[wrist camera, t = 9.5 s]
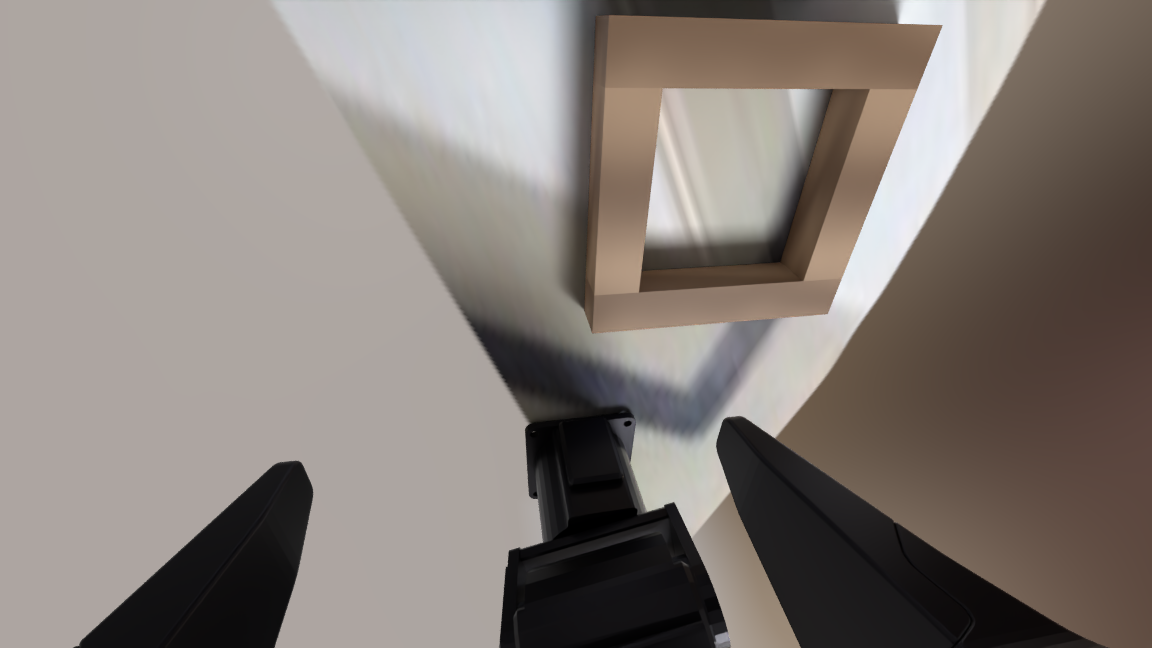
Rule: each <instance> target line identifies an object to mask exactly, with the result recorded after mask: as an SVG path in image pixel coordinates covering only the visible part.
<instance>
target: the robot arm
mask: <svg viewBox="0 0 1152 648" xmlns="http://www.w3.org/2000/svg"><path fill="white" fill-rule="evenodd" d="M625 421H627V422H625ZM635 425H636V421H635V418H634V415H633V414H631V413H620V414H611V415H602V416H593V417H584V418H575V419H566V420H557V421H548V422H539V423H532V424H529V425H528V426H527V427H526V429H525V436H526V453H527V471H528V486H529V496H530V497H531V498H533V499H538V503H539V511H540V520H541V529H542V538H543V543H540V544H537V545H533V546H530V547H526V548H523V549H520V548H516V549H513V550H509V556H508V567H506V573H505V584H504V597H503V609H502V621H501V634H500V645H499V648H730V647H731V645H730V639H729V634H728V630H727V627H726V623H725V620H724V617H723V614H722V611H721V607H720V604H719V602H718V599H717V596H716V593H715V591H714V588H713V585H712V583H711V580H710V578H709V575H708V573H707V571H706V568H705V566H704V564H703V562H702V560H701V557H700V555H699V553H698V551H697V549H696V547H695V545H694V543H693V541H692V539H691V536H690V534H689V532H688V530H687V528H686V526H685V524H684V522H683V520H682V517H681V515H680V513H679V511H678V509H677V507H676V505H675V503H674V502H673V503H669V504H666V505H664V507H663V508H659V509H656V510H652V511H649V512H647V511H646V508H645V505H644V503H643V500H642V497H641V494H640V491H639V488H638V485H637V482H636V479H635V476H634V473H633V470H632V467H631V464H630V461H631V454H632V447H633V439H634V432H635ZM533 431H536V432H533ZM716 448H717V453H718V456H719V459H720V462H721V464H722V467H723V470H724V473H725V476H726V479H727V482H728V485H729V488H730V490H731V493H732V496H733V499H734V502H735V505H736V508H737V510H738V513H739V515H740V517H741V520H742V522H743V524H744V526H745V529H746V531H747V533H748V535H749V537H750V539H751V541H752V544H753V546H754V548H755V550H756V552H757V554H758V557H759V559H760V561H761V563H762V565H763V567H764V569H765V572H766V574H767V576H768V578H769V580H770V582H771V584H772V587H773V589H774V591H775V593H776V595H777V597H778V599H779V601H780V604H781V606H782V608H783V610H784V612H785V614H786V616H787V619H788V621H789V623H790V625H791V627H792V629H793V632H794V634H795V636H796V638H797V640H798V642H799V644H800V647H801V648H1108V647H1105V646H1102V645H1100V644H1097V643H1095V642H1093V641H1091V640H1088V639H1086V638H1084V637H1082V636H1080V635H1078V634H1076V633H1074V632H1072V631H1070V630H1068V629H1066V628H1065V627H1063V626H1061V625H1059V624H1057V623H1056V622H1054V621H1052V620H1051V619H1049V618H1047V617H1046V616H1044V615H1042V614H1040V613H1039V612H1038V611H1036V610H1034V609H1033V608H1031V607H1029V606H1028V605H1026V604H1024V603H1023V602H1021V601H1019V600H1018V599H1016V598H1014V597H1013V596H1011V595H1009V594H1008V593H1006V592H1005V591H1003V590H1001V589H1000V588H998V587H996V586H994V585H993V584H991V583H990V582H988V581H986V580H985V579H983V578H981V577H980V576H978V575H977V574H975V573H973V572H972V571H970V570H968V569H967V568H965V567H964V566H962V565H960V564H959V563H957V562H956V561H954V560H952V559H951V558H949V557H948V556H946V555H945V554H943V553H941V552H940V551H938V550H937V549H936V548H934V547H933V546H931V545H930V544H928V543H927V542H925V541H924V540H922V539H920V538H919V537H918V536H916V535H914V534H913V533H911V532H910V531H909V530H907V529H906V528H904V527H903V526H901V525H900V524H898V523H896V522H895V523H894V521H893V520H892V519H891V518H890V517H888V516H887V515H885V514H884V513H882V512H881V511H879V510H878V509H876V508H875V507H874V506H872V505H871V504H869V503H868V502H866V501H865V500H863V499H862V498H861V497H859V496H858V495H856V494H855V493H853V492H852V491H850V490H849V489H848V488H846V487H845V486H843V485H842V484H840V483H839V482H837V481H836V480H834V479H833V478H832V477H830V476H829V475H827V474H826V473H824V472H823V471H821V470H820V469H818V468H817V467H816V466H814V465H813V464H811V463H810V462H808V461H807V460H805V459H804V458H802V457H801V456H799V455H798V454H797V453H795V452H794V451H792V450H791V449H789V448H788V447H786V446H785V445H784V444H782V443H781V442H779V441H778V440H776V439H775V438H773V437H772V436H771V435H769V434H768V433H766V432H765V431H763V430H762V429H760V428H759V427H757V426H756V425H755V424H753V423H752V422H750V421H749V420H747V419H746V418H744V417H741V416H736V417H727V418H725V419H724V420H723V422H722V425H721V429H720V432H719V435H718V439H717V443H716ZM312 499H313V488H312V485H311V482H310V480H309V478H308V476H307V473H306V471H305V469H304V466H303V465H302V463H301V462H299V461H289V462H280V463H277V464H275V465H274V466H272V467H271V468H270V469H269V470H268V471H267V472H266V473H264V474H263V475H262V476H261V477H260V478H259V479H258V480H257V481H256V482H255V483H253V484H252V485H251V486H250V487H249V488H248V489H247V490H246V491H245V492H244V493H243V494H241V495H240V496H239V497H238V498H237V499H236V500H235V501H234V502H233V503H231V504H230V505H229V506H228V507H227V508H226V509H225V510H224V511H223V512H222V513H221V514H219V515H218V516H217V517H216V518H215V519H214V520H213V521H212V522H211V523H210V524H208V525H207V526H206V527H205V528H204V529H203V530H202V531H201V532H200V533H199V534H197V535H196V536H195V537H194V538H193V539H192V540H191V541H190V542H189V543H188V544H187V545H186V546H184V547H183V548H182V549H181V550H180V551H179V552H178V553H177V554H176V555H175V556H173V557H172V558H171V559H170V560H169V561H168V562H167V563H166V564H165V565H164V566H162V567H161V568H160V569H159V570H158V571H157V572H156V573H155V574H154V575H153V576H151V577H150V578H149V579H148V580H147V581H146V582H145V583H144V584H143V585H142V586H141V587H139V588H138V589H137V590H136V591H135V592H134V593H133V594H132V595H131V596H130V597H128V598H127V599H126V600H125V601H124V602H123V603H122V604H121V605H120V606H119V607H118V608H116V609H115V610H114V611H113V612H112V613H111V614H110V615H109V616H108V617H106V618H105V619H104V620H103V621H102V622H101V623H100V624H99V625H98V626H97V627H96V628H95V629H93V630H92V631H91V632H90V633H89V634H88V635H87V636H86V637H85V638H84V639H82V640H81V642H80V644H79V646H76V647H74V648H274V647H275V644H276V641H277V638H278V635H279V632H280V628H281V625H282V622H283V619H284V616H285V613H286V610H287V606H288V603H289V600H290V597H291V594H292V591H293V587H294V584H295V581H296V577H297V573H298V569H299V564H300V560H301V554H302V550H303V545H304V540H305V535H306V530H307V525H308V520H309V514H310V509H311V505H312Z"/></svg>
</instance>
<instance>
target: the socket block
mask: <svg viewBox="0 0 1152 648" xmlns="http://www.w3.org/2000/svg"><path fill="white" fill-rule="evenodd" d="M942 26H943V25H917V24H885V23H852V22H820V21H788V20H755V19H723V18H691V17H658V16H626V15H600V16H596V20H595V46H594V72H593V98H592V123H591V149H590V175H589V201H588V227H587V253H586V278H585V304H584V311H585V314H586V317H587V319H588V322H589V325H590V328H591V331H592V333H603V332H615V331H627V330H639V329H651V328H664V327H676V326H688V325H700V324H712V323H725V322H737V321H749V320H761V319H773V318H786V317H798V316H810V315H822V314H828V312H829V309H830V307H831V304H832V302H833V299H834V297H835V294H836V292H837V289H838V287H839V284H840V281H841V279H842V276H843V274H844V271H845V269H846V266H847V264H848V261H849V259H850V256H851V254H852V251H853V249H854V246H855V244H856V241H857V239H858V236H859V234H860V231H861V229H862V226H863V224H864V221H865V219H866V216H867V214H868V211H869V209H870V206H871V204H872V201H873V199H874V196H875V194H876V191H877V189H878V186H879V184H880V181H881V179H882V176H883V174H884V171H885V169H886V166H887V164H888V161H889V159H890V156H891V154H892V151H893V149H894V146H895V144H896V141H897V139H898V136H899V134H900V131H901V128H902V126H903V123H904V121H905V118H906V116H907V113H908V111H909V108H910V106H911V103H912V101H913V98H914V96H915V93H916V91H917V88H918V86H919V83H920V81H921V78H922V76H923V73H924V71H925V68H926V66H927V63H928V61H929V58H930V56H931V53H932V51H933V48H934V46H935V43H936V41H937V38H938V36H939V33H940V31H941V28H942ZM662 88H733V89H833V91H832V95H831V98H830V101H829V104H828V108H827V111H826V114H825V117H824V121H823V124H822V127H821V131H820V134H819V137H818V140H817V144H816V147H815V150H814V153H813V157H812V160H811V163H810V167H809V170H808V173H807V176H806V180H805V183H804V186H803V189H802V193H801V196H800V199H799V203H798V206H797V209H796V212H795V216H794V219H793V222H792V225H791V229H790V232H789V235H788V239H787V242H786V245H785V248H784V252H783V255H782V258H781V262H779V263H762V264H746V265H730V266H713V267H697V268H680V269H664V270H648V271H641V270H642V261H643V252H644V244H645V235H646V226H647V218H648V209H649V201H650V192H651V183H652V175H653V166H654V157H655V149H656V140H657V132H658V123H659V114H660V106H661V97H662Z"/></svg>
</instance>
